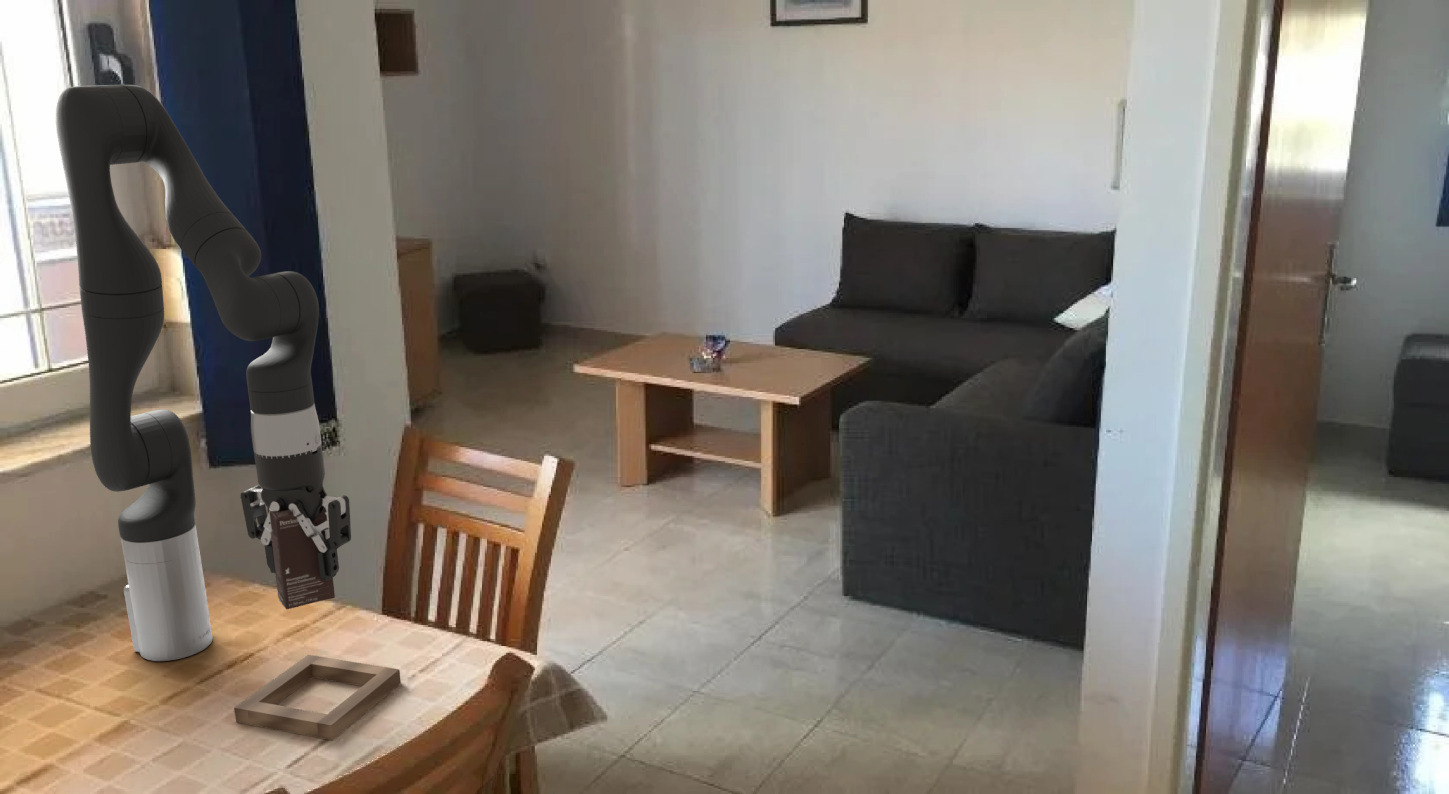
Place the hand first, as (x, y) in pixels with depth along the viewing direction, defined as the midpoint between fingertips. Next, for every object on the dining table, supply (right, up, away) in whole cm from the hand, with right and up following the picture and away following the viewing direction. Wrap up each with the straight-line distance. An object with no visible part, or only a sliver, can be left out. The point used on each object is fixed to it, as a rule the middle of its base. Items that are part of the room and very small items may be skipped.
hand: (304, 574), depth 143 cm
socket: (0, -17, +5) cm, 17 cm away
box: (0, -3, +1) cm, 4 cm away
